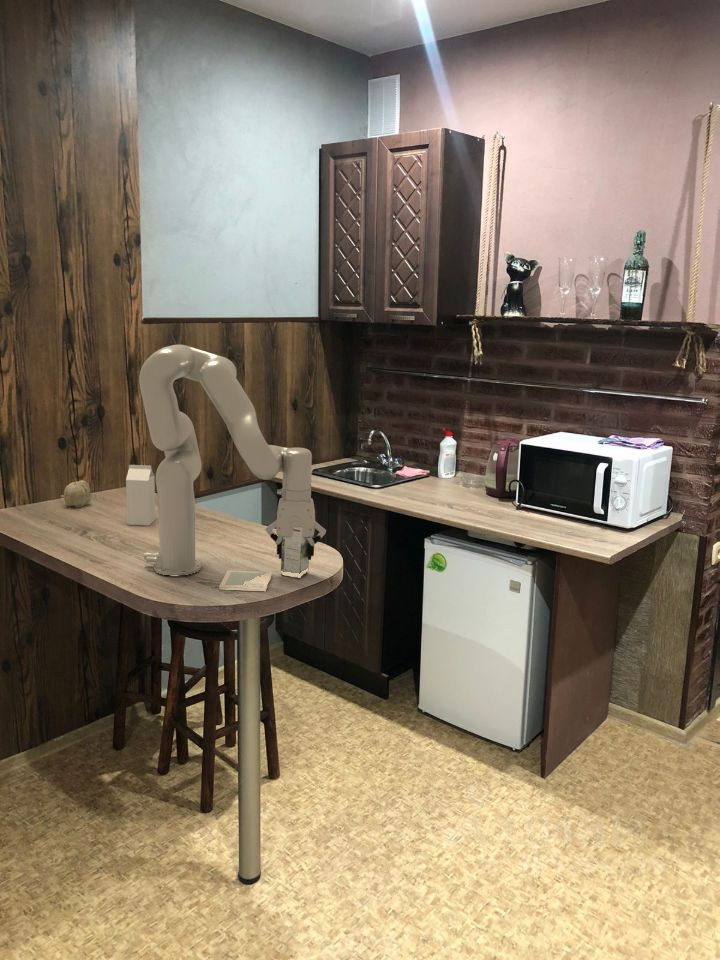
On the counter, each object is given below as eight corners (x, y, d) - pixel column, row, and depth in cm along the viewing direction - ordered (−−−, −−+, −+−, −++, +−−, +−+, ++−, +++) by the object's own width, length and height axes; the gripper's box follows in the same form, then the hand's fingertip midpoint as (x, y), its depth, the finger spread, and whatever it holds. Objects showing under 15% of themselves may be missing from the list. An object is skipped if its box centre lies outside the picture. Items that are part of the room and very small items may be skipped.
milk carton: (149, 526, 254) (148, 468, 250) (127, 525, 254) (125, 467, 250) (155, 520, 261) (154, 463, 257) (133, 519, 261) (132, 462, 257)
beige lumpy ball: (89, 510, 277) (98, 483, 277) (82, 513, 269) (92, 485, 268) (63, 501, 276) (72, 474, 276) (55, 503, 268) (65, 476, 268)
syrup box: (289, 569, 220) (290, 519, 216) (309, 572, 218) (310, 522, 214) (280, 575, 215) (281, 524, 211) (300, 579, 213) (301, 527, 209)
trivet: (219, 590, 203) (219, 586, 202) (227, 573, 214) (227, 570, 214) (266, 592, 203) (266, 588, 202) (272, 575, 214) (272, 572, 214)
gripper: (262, 496, 207) (261, 561, 212) (328, 499, 207) (326, 563, 211) (265, 489, 215) (265, 552, 219) (330, 492, 215) (328, 554, 219)
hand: (295, 557), depth 215 cm, fingers closed on syrup box, 7 cm apart
